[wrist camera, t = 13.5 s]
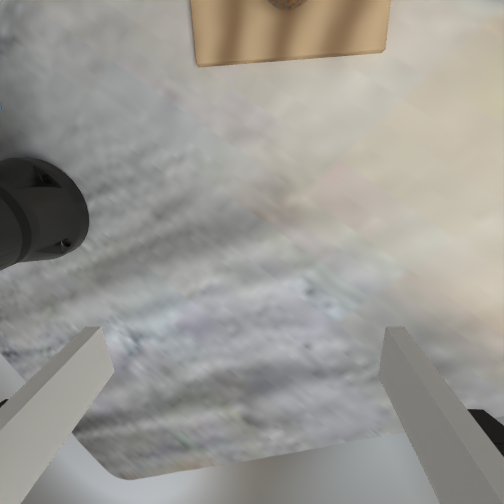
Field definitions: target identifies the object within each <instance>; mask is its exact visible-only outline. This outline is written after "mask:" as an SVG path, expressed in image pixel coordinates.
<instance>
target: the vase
mask: <svg viewBox="0 0 504 504" xmlns="http://www.w3.org/2000/svg"><path fill="white" fill-rule="evenodd" d="M268 1H269V2H270V3H271V4H272V5H274V6H275V7H277V8H280V9H284V10H289V9H294V8H297V7H299V6H301V5H302V4H304V3H305V2H306V1H307V0H268Z"/></svg>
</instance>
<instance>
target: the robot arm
mask: <svg viewBox="0 0 504 504" xmlns="http://www.w3.org/2000/svg"><path fill="white" fill-rule="evenodd" d="M0 112H2V106H1V105H0ZM88 227H89V215H88V210H87V206H86V203H85V200H84V198H83V196H82V194H81V192H80V191H79V189H78V188H77V186H76V185H75V184H74V182H73V181H72V180H71V179H70V178H69V177H68V176H67V175H66V174H65V173H63V172H62V171H61V170H59V169H58V168H56V167H55V166H53V165H51V164H49V163H47V162H44V161H42V160H38V159H33V158H11V159H5V160H1V161H0V270H2V269H5V268H7V267H9V266H11V265H13V264H16V263H18V262H29V261H39V260H49V259H55V258H58V257H61V256H63V255H65V254H67V253H69V252H71V251H73V250H75V249H76V248H77V247H79V246H80V245H81V243H82V242H83V241H84V239H85V237H86V235H87V232H88ZM113 373H114V368H113V365H112V361H111V358H110V355H109V351H108V348H107V345H106V341H105V338H104V334H103V331H102V328H101V327H85V328H84V329H83V330H82V331H81V332H80V333H79V334H78V335H77V336H76V337H75V338H74V339H72V340H71V341H70V342H69V343H68V344H67V345H66V346H65V347H64V348H63V349H62V350H61V351H60V352H59V353H58V354H57V355H56V356H55V357H53V358H52V359H51V360H50V361H49V362H48V363H47V364H46V365H45V366H44V367H43V368H42V369H41V370H40V371H39V372H38V373H37V374H35V375H34V376H33V377H32V378H31V379H30V380H29V381H28V382H27V383H26V384H25V385H24V386H23V387H22V388H21V389H20V390H19V391H18V392H16V393H15V395H13V396H12V397H11V398H10V399H5V400H4V401H2V402H1V403H0V504H20V503H21V502H22V501H23V499H24V498H25V496H26V495H27V494H28V492H29V491H30V489H31V488H32V486H33V485H34V484H35V482H36V481H37V480H38V478H39V477H40V475H41V474H42V473H43V471H44V470H45V468H46V467H47V465H48V464H49V463H50V461H51V460H52V459H53V457H54V456H55V454H56V453H57V452H58V450H59V449H60V447H61V446H62V445H63V443H64V442H65V440H66V439H67V438H68V436H69V435H70V433H71V432H72V431H73V429H74V428H75V426H76V425H77V423H78V422H79V421H80V419H81V418H82V416H83V415H84V414H85V412H86V411H87V409H88V408H89V407H90V405H91V404H92V402H93V401H94V400H95V398H96V397H97V395H98V394H99V393H100V391H101V390H102V388H103V387H104V386H105V384H106V383H107V381H108V380H109V379H110V377H111V376H112V374H113ZM378 376H379V378H380V380H381V382H382V384H383V386H384V388H385V390H386V392H387V394H388V396H389V398H390V400H391V403H392V405H393V407H394V409H395V411H396V413H397V415H398V417H399V419H400V421H401V423H402V425H403V427H404V429H405V432H406V434H407V436H408V438H409V440H410V442H411V444H412V446H413V448H414V450H415V452H416V454H417V456H418V458H419V460H420V463H421V465H422V467H423V469H424V471H425V473H426V475H427V477H428V479H429V481H430V483H431V485H432V487H433V489H434V491H435V494H436V496H437V498H438V500H439V502H440V504H504V426H503V425H502V424H501V423H500V422H498V421H497V420H496V419H494V418H493V417H492V416H491V415H489V414H488V413H487V412H485V411H484V410H477V409H466V407H465V406H464V405H463V403H462V402H461V401H460V399H459V398H458V397H457V396H456V394H455V393H454V392H453V390H452V389H451V388H450V386H449V385H448V384H447V382H446V381H445V380H444V379H443V377H442V376H441V375H440V373H439V372H438V371H437V369H436V368H435V367H434V365H433V364H432V363H431V362H430V360H429V359H428V358H427V356H426V355H425V354H424V352H423V351H422V350H421V348H420V347H419V346H418V344H417V343H416V342H415V341H414V339H413V338H412V337H411V335H410V334H409V333H408V331H407V330H406V329H405V327H386V329H385V335H384V342H383V348H382V355H381V361H380V368H379V374H378Z"/></svg>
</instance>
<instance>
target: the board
mask: <svg viewBox="0 0 504 504" xmlns="http://www.w3.org/2000/svg"><path fill="white" fill-rule="evenodd" d="M190 2H191V12H192V21H193V31H194V41H195V51H196V61H197V65H198V66H199V67H208V66H221V65H234V64H246V63H259V62H272V61H285V60H297V59H310V58H323V57H336V56H348V55H361V54H374V53H382V52H383V51H384V50H385V49H386V40H387V30H388V21H389V11H390V2H391V0H307V1H306V2H305V3H304V4H302V5H301V6H299V7H297V8H294V9H289V10H284V9H280V8H277V7H275V6H274V5H272V4H271V3H270V2H269V1H268V0H190Z"/></svg>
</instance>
